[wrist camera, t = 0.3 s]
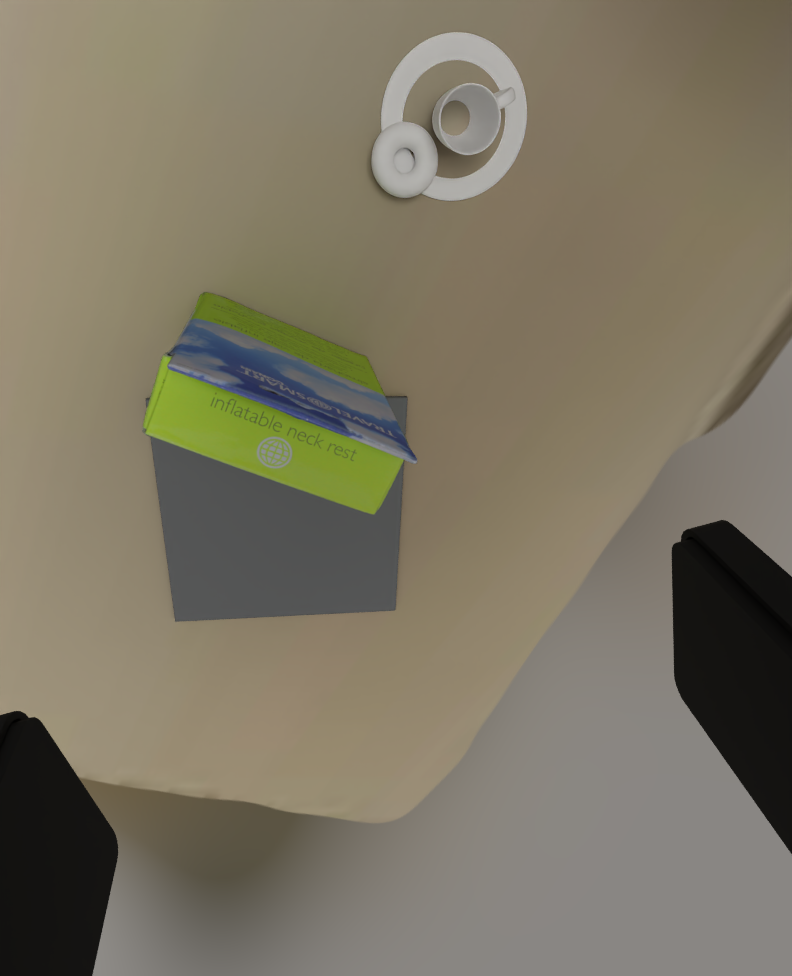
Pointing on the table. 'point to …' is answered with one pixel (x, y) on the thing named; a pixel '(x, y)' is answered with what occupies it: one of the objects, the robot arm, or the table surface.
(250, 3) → the table surface
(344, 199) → the table surface
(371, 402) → the box
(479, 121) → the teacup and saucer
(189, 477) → the mat
